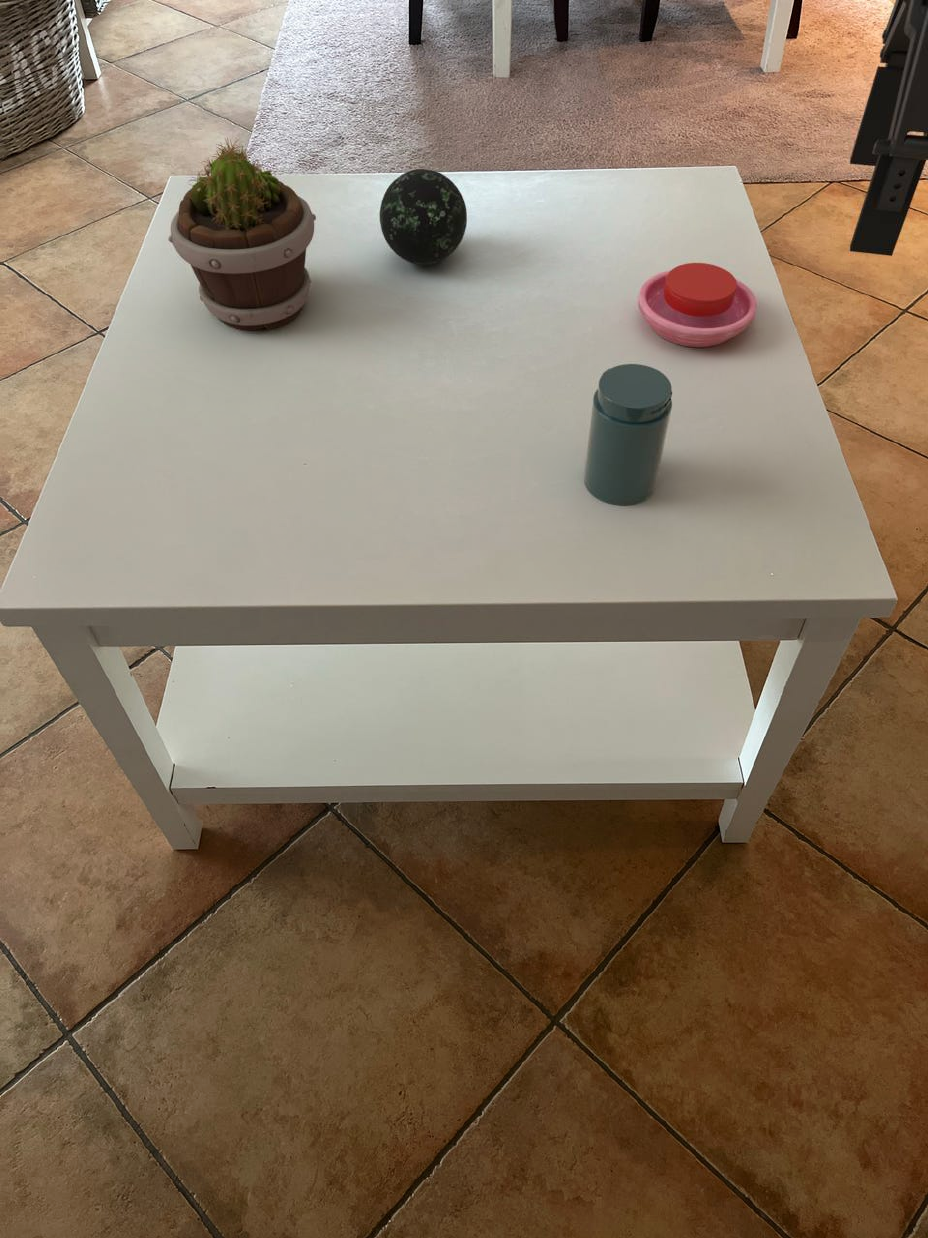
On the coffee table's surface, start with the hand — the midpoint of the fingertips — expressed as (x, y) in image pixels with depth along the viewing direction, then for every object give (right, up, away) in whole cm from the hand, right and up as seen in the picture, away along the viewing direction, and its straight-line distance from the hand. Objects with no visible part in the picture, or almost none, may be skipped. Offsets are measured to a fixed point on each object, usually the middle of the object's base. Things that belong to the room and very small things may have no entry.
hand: (869, 204), depth 66 cm
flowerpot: (-52, +5, +37) cm, 64 cm away
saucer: (-4, +2, +34) cm, 34 cm away
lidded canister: (-15, -17, +18) cm, 29 cm away
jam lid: (-4, +5, +30) cm, 31 cm away
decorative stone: (-34, +13, +43) cm, 56 cm away
